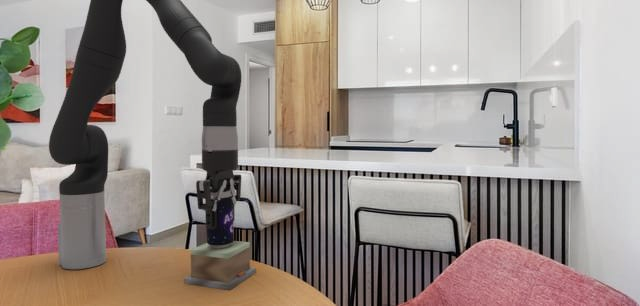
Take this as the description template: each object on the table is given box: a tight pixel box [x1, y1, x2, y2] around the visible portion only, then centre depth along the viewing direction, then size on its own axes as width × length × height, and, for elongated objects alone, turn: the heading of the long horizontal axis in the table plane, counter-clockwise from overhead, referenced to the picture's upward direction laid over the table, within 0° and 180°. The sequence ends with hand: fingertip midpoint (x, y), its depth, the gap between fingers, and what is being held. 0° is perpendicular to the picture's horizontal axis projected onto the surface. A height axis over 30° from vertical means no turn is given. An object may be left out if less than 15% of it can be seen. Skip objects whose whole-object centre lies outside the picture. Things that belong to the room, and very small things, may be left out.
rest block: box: [183, 240, 257, 291], centre depth 88 cm, size 11×11×7 cm
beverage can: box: [206, 189, 235, 248], centre depth 87 cm, size 6×6×12 cm
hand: (220, 224), depth 88 cm, fingers open, 6 cm apart
